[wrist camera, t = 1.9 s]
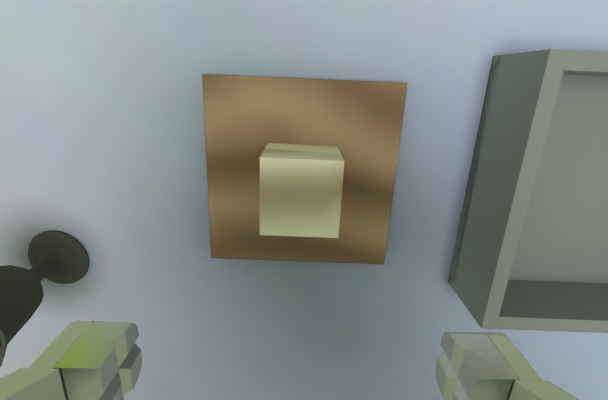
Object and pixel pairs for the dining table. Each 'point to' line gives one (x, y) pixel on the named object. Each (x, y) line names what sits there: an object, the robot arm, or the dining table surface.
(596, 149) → the bin
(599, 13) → the dining table surface
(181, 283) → the dining table surface
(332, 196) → the cream block
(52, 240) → the sundae
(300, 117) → the walnut board
